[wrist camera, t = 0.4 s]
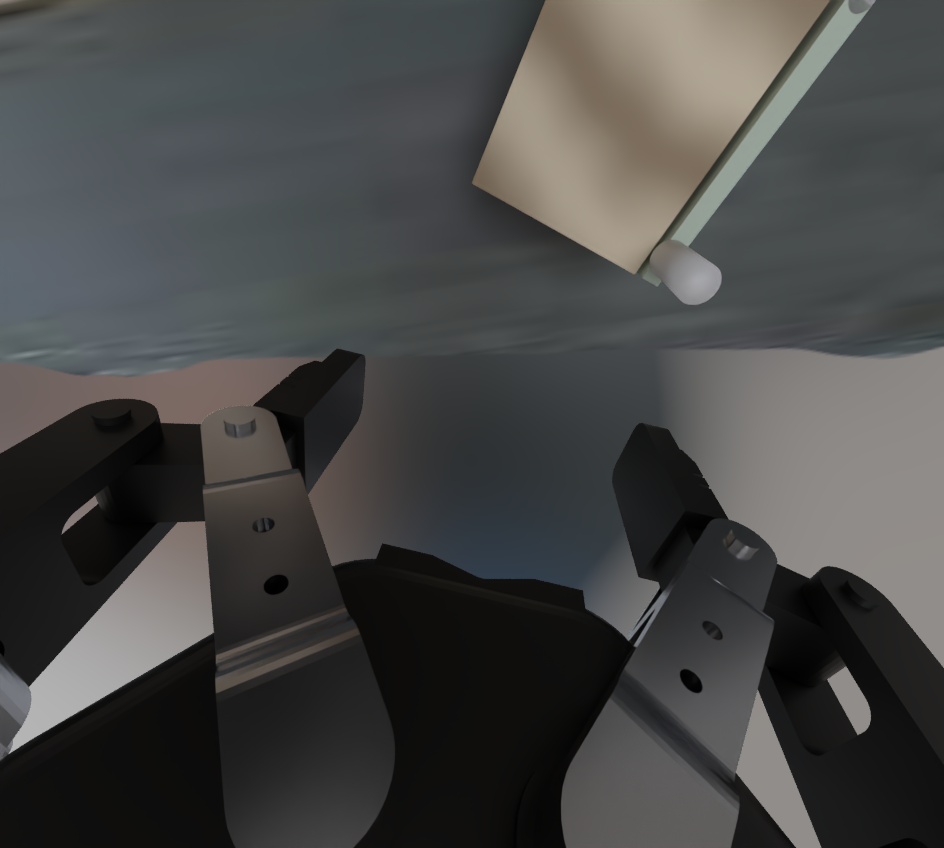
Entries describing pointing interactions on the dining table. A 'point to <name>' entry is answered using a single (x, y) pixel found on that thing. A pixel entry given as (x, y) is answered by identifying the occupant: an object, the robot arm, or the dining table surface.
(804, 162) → the dining table surface
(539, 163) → the birch box
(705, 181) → the grey-green rectangular panel
